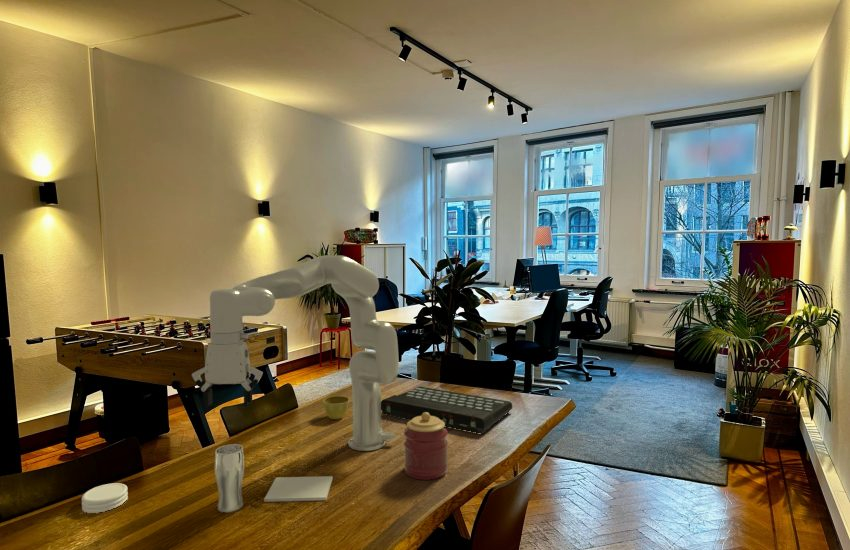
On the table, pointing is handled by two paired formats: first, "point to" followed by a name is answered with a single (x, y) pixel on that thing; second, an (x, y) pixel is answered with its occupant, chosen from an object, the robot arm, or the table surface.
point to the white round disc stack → (104, 497)
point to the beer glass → (229, 476)
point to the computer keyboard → (448, 408)
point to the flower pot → (336, 406)
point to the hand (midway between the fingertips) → (228, 405)
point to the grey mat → (299, 489)
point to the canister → (425, 447)
